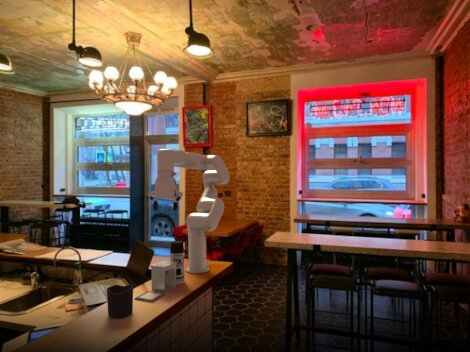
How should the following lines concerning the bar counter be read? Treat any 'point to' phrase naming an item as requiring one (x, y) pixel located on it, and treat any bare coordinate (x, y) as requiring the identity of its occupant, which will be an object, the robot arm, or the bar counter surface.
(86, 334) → the bar counter surface
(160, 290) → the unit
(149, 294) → the pad
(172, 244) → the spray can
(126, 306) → the pen holder
